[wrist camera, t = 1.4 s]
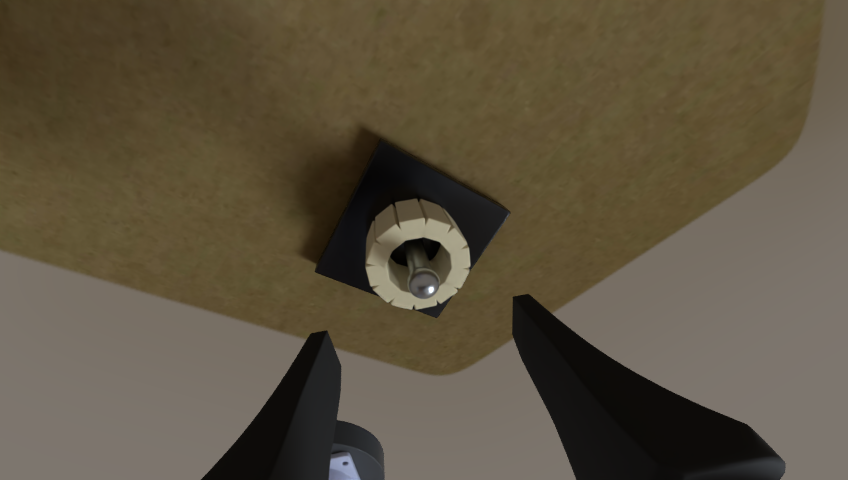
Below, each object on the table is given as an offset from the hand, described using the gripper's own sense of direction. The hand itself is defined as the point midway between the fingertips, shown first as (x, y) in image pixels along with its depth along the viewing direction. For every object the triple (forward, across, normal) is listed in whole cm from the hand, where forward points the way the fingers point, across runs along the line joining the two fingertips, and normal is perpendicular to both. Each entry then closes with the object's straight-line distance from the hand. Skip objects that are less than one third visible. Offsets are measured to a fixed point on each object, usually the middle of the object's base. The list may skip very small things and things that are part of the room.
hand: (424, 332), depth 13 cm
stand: (+9, 0, +1) cm, 9 cm away
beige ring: (+8, 0, +1) cm, 8 cm away
